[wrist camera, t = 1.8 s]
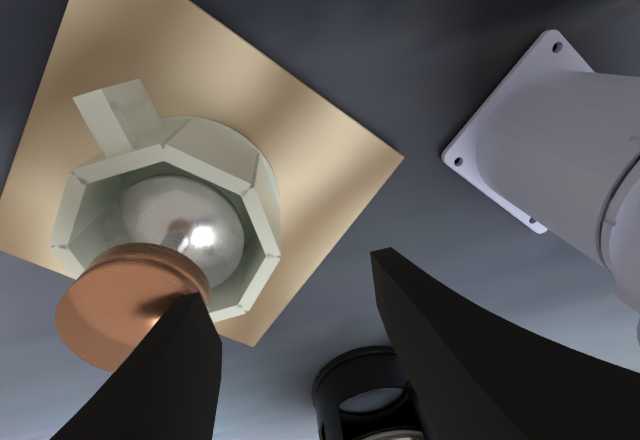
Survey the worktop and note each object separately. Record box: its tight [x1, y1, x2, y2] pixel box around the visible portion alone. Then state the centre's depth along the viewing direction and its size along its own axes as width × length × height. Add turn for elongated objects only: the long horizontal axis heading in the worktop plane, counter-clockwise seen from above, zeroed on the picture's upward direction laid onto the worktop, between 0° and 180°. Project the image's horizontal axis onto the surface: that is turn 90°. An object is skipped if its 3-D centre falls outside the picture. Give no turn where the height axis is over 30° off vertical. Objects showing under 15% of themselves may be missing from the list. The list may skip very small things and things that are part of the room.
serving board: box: [0, 0, 405, 347], centre depth 19 cm, size 16×16×1 cm
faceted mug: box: [49, 78, 281, 323], centre depth 16 cm, size 11×9×5 cm
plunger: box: [55, 174, 245, 373], centre depth 13 cm, size 6×6×6 cm
